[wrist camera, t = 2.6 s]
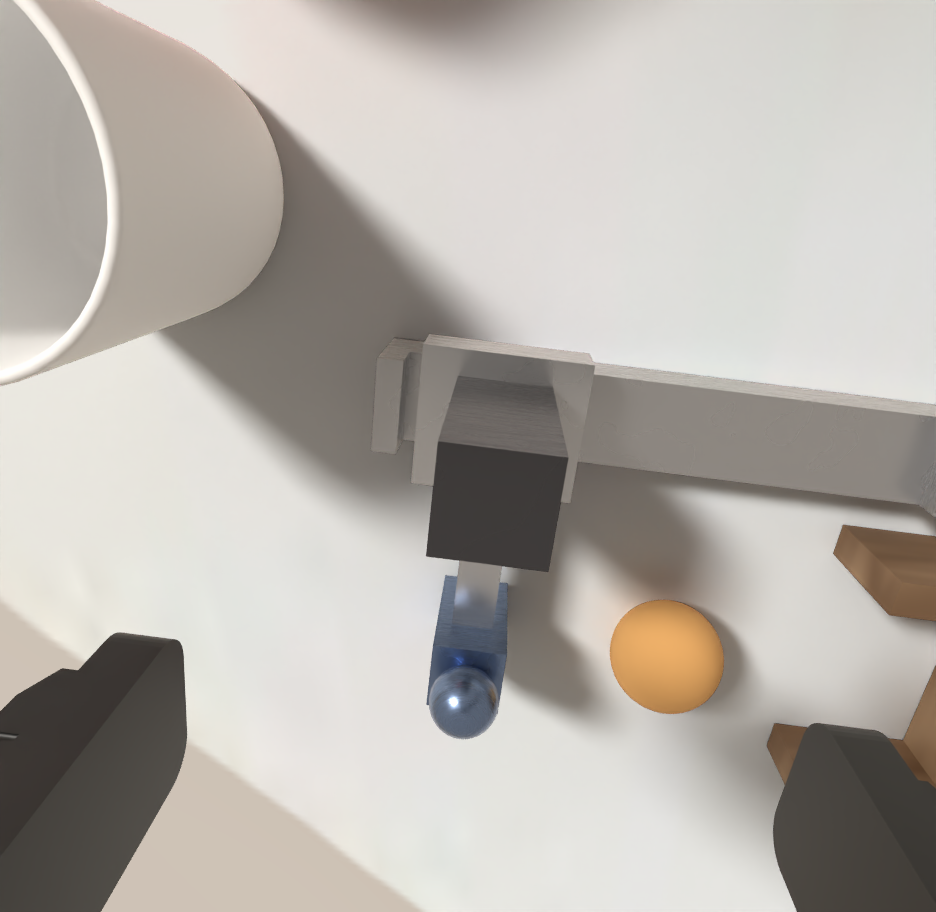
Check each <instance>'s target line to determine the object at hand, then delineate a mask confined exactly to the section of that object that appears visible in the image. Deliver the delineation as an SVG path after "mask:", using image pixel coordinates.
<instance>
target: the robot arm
mask: <svg viewBox="0 0 936 912" xmlns="http://www.w3.org/2000/svg"><path fill="white" fill-rule="evenodd" d="M186 741H187V721H186V699H185V677H184V656H183V649H182V645H181V643H180V642H179V641H178V640H175V639H167V638H160V637H152V636H144V635H136V634H128V633H115V634H113V635H112V636H110V637H109V638H108V639H107V640H106V641H105V642H104V643H103V644H102V645H101V646H100V647H99V648H98V649H97V651H96V652H95V653H94V654H93V655H92V656H91V657H90V658H89V659H88V660H87V661H86V662H85V664H84V665H83V666H82V667H81V668H80V669H79V670H70V669H60V670H59V671H57V672H55V673H53V674H52V675H50V676H48V677H47V678H45V679H43V680H41V681H40V682H38V683H36V684H35V685H33V686H31V687H29V688H28V689H26V690H24V691H23V692H21V693H19V694H18V695H16V696H15V697H14V698H13V699H12V700H11V701H10V702H9V703H8V704H7V705H6V706H5V707H4V708H3V709H2V710H1V711H0V912H101V911H102V909H103V907H104V905H105V904H106V902H107V900H108V898H109V897H110V895H111V893H112V892H113V890H114V888H115V886H116V884H117V883H118V881H119V879H120V878H121V876H122V874H123V872H124V871H125V869H126V867H127V865H128V864H129V862H130V860H131V858H132V857H133V855H134V853H135V852H136V849H137V848H138V846H139V844H140V843H141V841H142V839H143V837H144V836H145V834H146V832H147V831H148V829H149V827H150V825H151V824H152V822H153V820H154V819H155V817H156V815H157V813H158V812H159V810H160V808H161V806H162V804H163V803H164V801H165V799H166V798H167V796H168V794H169V792H170V791H171V789H172V787H173V785H174V783H175V781H176V779H177V776H178V773H179V771H180V768H181V765H182V761H183V758H184V753H185V748H186ZM773 838H774V848H775V854H776V858H777V862H778V866H779V868H780V871H781V874H782V876H783V878H784V881H785V883H786V886H787V888H788V891H789V893H790V896H791V898H792V900H793V903H794V905H795V908H796V910H797V912H936V788H935V787H934V786H932V785H931V784H930V783H929V782H928V781H921V780H918V779H917V778H916V776H915V775H914V774H913V772H912V771H911V769H910V768H909V767H908V765H907V764H906V762H905V761H904V760H903V758H902V757H901V755H900V754H899V753H898V751H897V750H896V748H895V747H894V746H893V744H892V743H891V742H890V740H889V739H888V738H887V737H886V736H885V735H884V734H882V733H880V732H879V731H875V730H868V729H860V728H852V727H844V726H836V725H828V724H820V723H814V724H812V725H810V726H809V727H808V728H807V729H806V731H805V733H804V735H803V737H802V740H801V743H800V745H799V748H798V751H797V754H796V756H795V759H794V762H793V765H792V768H791V770H790V773H789V776H788V779H787V781H786V784H785V787H784V790H783V792H782V795H781V798H780V801H779V804H778V806H777V809H776V813H775V817H774V825H773Z"/></svg>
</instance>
